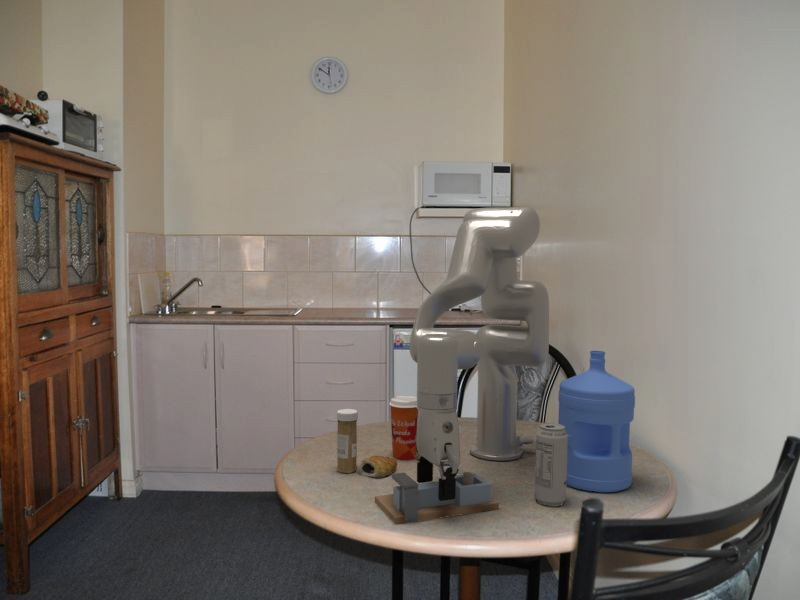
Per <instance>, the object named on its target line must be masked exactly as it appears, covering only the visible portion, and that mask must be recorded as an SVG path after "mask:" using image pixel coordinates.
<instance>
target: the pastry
mask: <svg viewBox="0 0 800 600" xmlns="http://www.w3.org/2000/svg"><path fill="white" fill-rule="evenodd" d="M397 467H398V461H397V459H395V458H393V457H390V456H384V455H372V456H369V457H365V458H364V459H363V460H362V461H361V462H360V464H359V465H358V466H357V472H358V473H359V475H361V476H363V475H364V477H370V478H373V477H374V479H376V478H377V479H380V478H379V477H382V478H384V477H386V476H387V475H388V476H390V475H392V474H393V473H394V472H395V471H396V470H397ZM392 472H393V473H392ZM389 474H390V475H389Z"/></svg>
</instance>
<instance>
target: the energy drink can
mask: <svg viewBox="0 0 800 600" xmlns="http://www.w3.org/2000/svg"><path fill="white" fill-rule="evenodd" d="M535 436H536V437H535V465H534V467H535V469H534V498H536V502H537V503H539V504H540V505H542V504H543V506H546V505H548V506H547V507H557V506H556V505H560V506H562V505H563V504H564V502H565V501H566V499H567V485H566V482H567V451H568V435H567V433H566V431H565V426H563V425H561V424H558V423H556V422H555V423H554V422H543V423H540V424H539V428H538V430H537V432H536V433H535ZM562 503H563V504H562ZM561 504H562V505H561Z"/></svg>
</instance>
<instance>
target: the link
mask: <svg viewBox="0 0 800 600" xmlns="http://www.w3.org/2000/svg"><path fill="white" fill-rule="evenodd" d="M472 473H473V472H472ZM473 474H474V482H473V484H471V485H464V486H463V474H457V478H456V493H455V499H452V500H445V501H440V500H439V499H438V485H439V480H438V481H431V482H424V483H418V509H419V508H426V507H433V506H440V505H447V504H454V503H456V504H457V505H458V506H459V507H462V506H469V505H476V504H483V503H490V502H491V498H492V483H491V482H489V481H487V480H486V479H484V478H483V477H481V476H479V475H478V474H477V473H473ZM392 491H393V493H392V494H393V506H394V507H395V508H396V509H397V510H398V511H402V487H401V486H400V485H398V486H393V490H392Z"/></svg>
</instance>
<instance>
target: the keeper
mask: <svg viewBox="0 0 800 600" xmlns="http://www.w3.org/2000/svg"><path fill="white" fill-rule="evenodd" d="M391 479H392V480H393V481H394V482H396V483H397V485H398V486H401V487H402V514H403V515H404V516H405V523H404V524H407V523H408V522H409V523H415V522H419V521H418V484H419V483H418V482H417V481H415V480H414V479H413V478H411V477H410V476H409V475H408V474H406V472H396V473H391Z"/></svg>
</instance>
